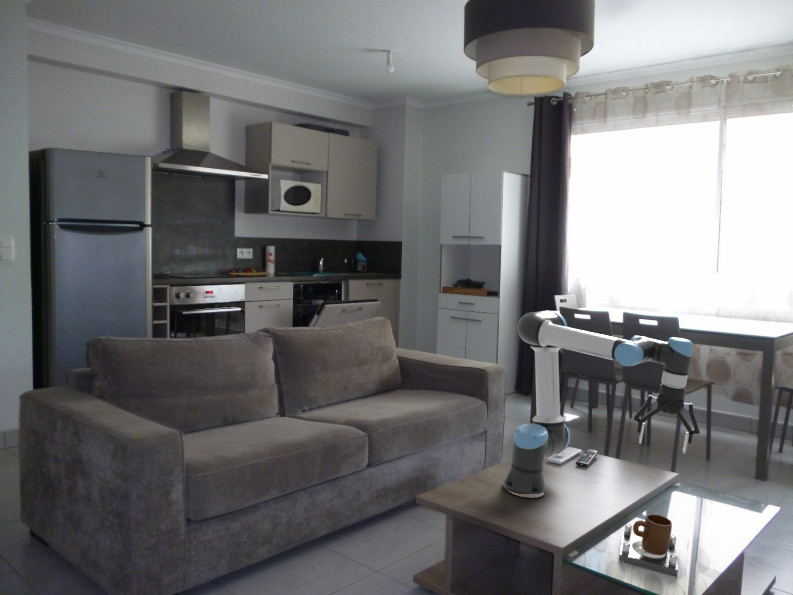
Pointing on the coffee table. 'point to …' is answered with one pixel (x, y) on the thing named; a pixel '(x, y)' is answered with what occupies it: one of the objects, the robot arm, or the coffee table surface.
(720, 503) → the coffee table surface
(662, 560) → the chassis
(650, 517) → the mug
